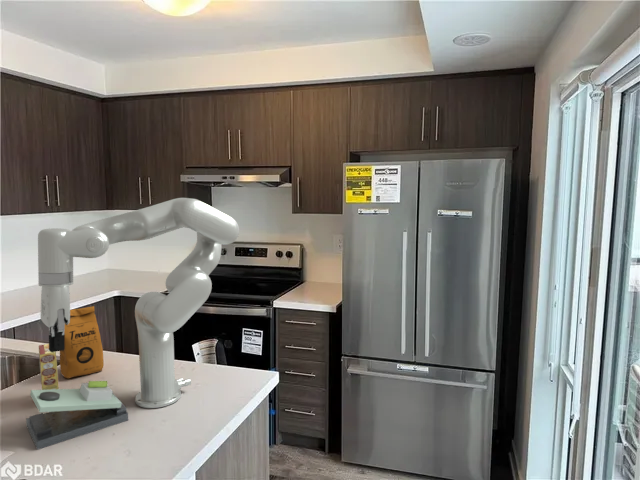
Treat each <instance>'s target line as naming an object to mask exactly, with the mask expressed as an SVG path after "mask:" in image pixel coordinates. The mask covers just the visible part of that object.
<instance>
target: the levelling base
mask: <svg viewBox="0 0 640 480" xmlns="http://www.w3.org/2000/svg"><path fill="white" fill-rule="evenodd" d="M121 403H122V406H121V408H107V409H90V410H73V411H56V412H40V413H38V414H35V415H30V416H28V417H27V418H25V422H26V423H25V424H26V427H27V430H28V433H29V434H30V435H29V436H30V437H31V439H32V441H33V443H34V446H35V448H36V450H41V449H44V448H47V447H49V446H52V445H56V444H59V443H62V442H65V441H68V440H71V439H72V440H73V439H75V438H78V437H80V436H84V435H88V434H90V433H94V432H96V431H99V430H102V429H105V428H109V427H111V426H114V425H117V424H122V423H125V422H127V421H129V413H128V411H127V410H128V409H127V407H126V406H125V405H124V403H123V402H122V401H121Z"/></svg>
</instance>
